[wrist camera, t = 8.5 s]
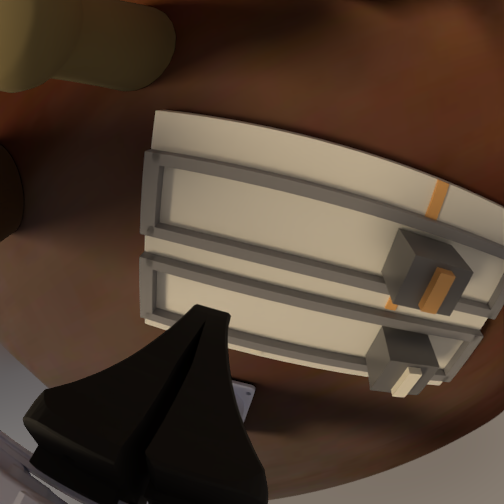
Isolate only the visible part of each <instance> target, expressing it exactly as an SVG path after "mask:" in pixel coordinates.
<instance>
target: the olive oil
mask: <svg viewBox="0 0 504 504" xmlns="http://www.w3.org/2000/svg"><path fill="white" fill-rule="evenodd" d="M23 207H24V198H23V189H22V184H21V179H20V176H19V173H18V170H17V167H16V165H15V163H14V161H13V159H12V157H11V156H10V154H9V153H8V152H7V150H6V149H5V148H3V147H2V146H1V145H0V242H1V241H2V240H4V239H5V238H6V237H8V236H9V235H11V234H12V233H13V232H14V231H15V230H16V229H17V228H18V227H19V225H20V223H21V220H22V215H23Z"/></svg>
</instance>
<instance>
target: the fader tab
mask: <svg viewBox="0 0 504 504" xmlns="http://www.w3.org/2000/svg"><path fill="white" fill-rule="evenodd" d="M381 273H382V275H383V278H384V281H385V284H386V286H387V289H388V292H389V295H390V297H391V300H392V303H393V304H396V305H400V306H405V307H409V308H414V309H418V310H421V311H422V312H427V313H431V314H441V315H445V316H450V315H451V313H452V312H453V310H454V308H455V306H456V305H457V303H458V301H459V299H460V298H461V296H462V294H463V292H464V290H465V288H466V287H467V285H468V283H469V281H470V279H471V277H472V275H473V273H474V272H473V271H472V270H471V268H470V267H469V266H468V264H467V263H466V262H465V261H464V260H463V258H462V257H461V256H460V255H459V253H458V252H457V251H456V250H455V249H454V247H453V246H452V245H450V244H447V243H444V242H441V241H438V240H435V239H432V238H429V237H426V236H422V235H419V234H416V233H413V232H410V231H407V230H403V229H400V228H398V231H397V234H396V236H395V239H394V241H393V244H392V246H391V249H390V251H389V254H388V256H387V259H386V261H385V263H384V266H383V268H382V270H381Z"/></svg>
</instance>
